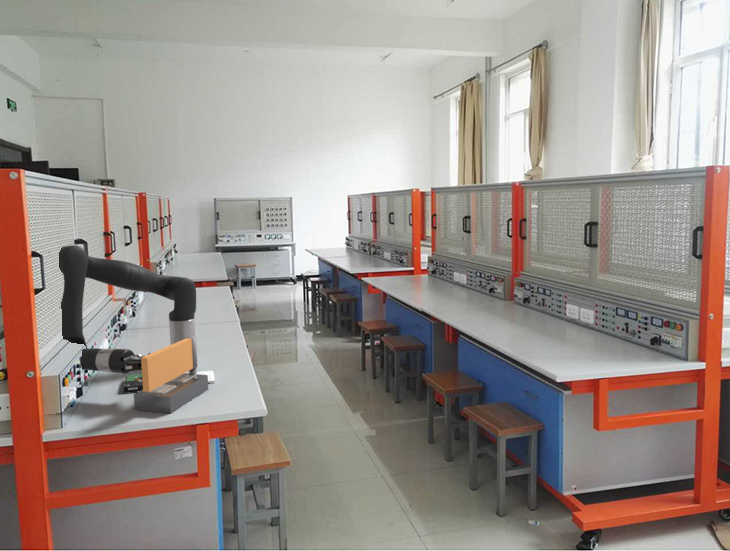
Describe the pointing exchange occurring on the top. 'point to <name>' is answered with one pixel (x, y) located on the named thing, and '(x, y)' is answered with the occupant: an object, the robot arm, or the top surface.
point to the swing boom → (168, 363)
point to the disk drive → (133, 383)
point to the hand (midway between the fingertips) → (164, 363)
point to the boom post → (192, 371)
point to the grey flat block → (171, 394)
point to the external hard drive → (210, 375)
